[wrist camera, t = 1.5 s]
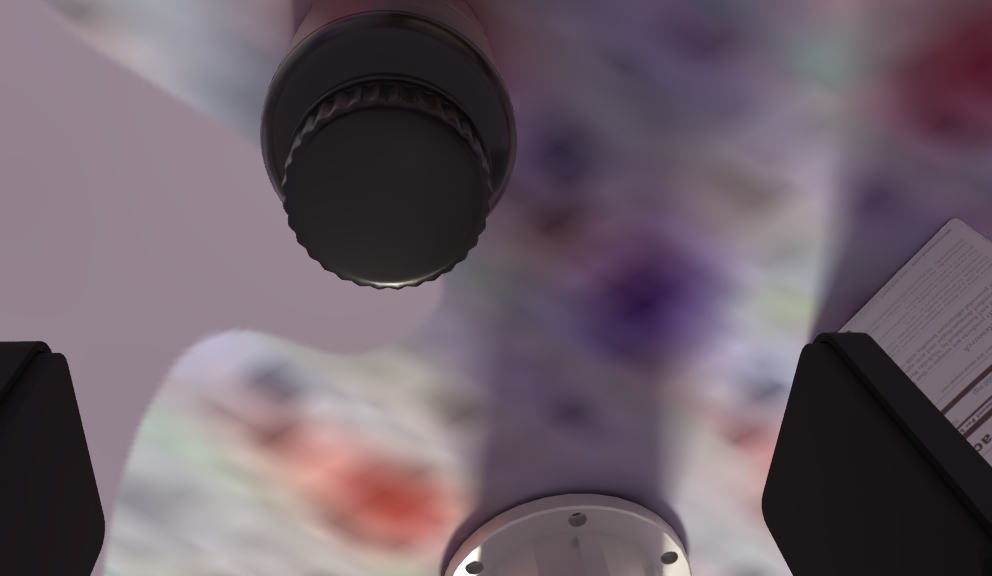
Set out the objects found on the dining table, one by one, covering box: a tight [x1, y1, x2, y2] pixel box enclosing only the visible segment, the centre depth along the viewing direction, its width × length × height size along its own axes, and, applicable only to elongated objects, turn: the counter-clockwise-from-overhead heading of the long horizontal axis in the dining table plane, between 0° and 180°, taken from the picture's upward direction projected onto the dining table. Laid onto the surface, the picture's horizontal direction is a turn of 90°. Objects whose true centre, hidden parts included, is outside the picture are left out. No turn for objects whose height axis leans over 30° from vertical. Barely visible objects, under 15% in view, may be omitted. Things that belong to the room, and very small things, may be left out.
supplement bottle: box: [260, 0, 517, 290], centre depth 24 cm, size 7×7×12 cm
